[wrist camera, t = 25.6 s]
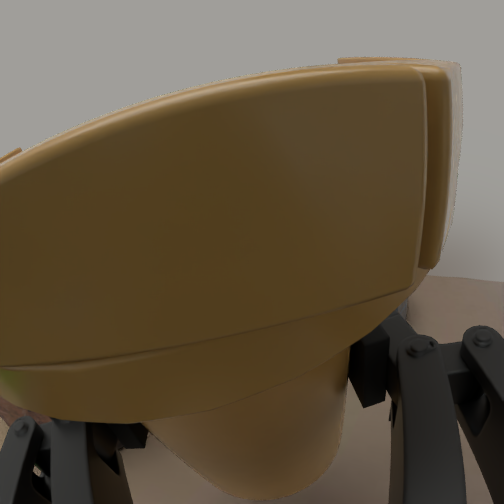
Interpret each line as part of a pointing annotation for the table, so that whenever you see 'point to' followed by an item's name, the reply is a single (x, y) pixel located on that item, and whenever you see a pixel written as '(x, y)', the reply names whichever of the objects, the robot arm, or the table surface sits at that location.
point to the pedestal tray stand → (226, 258)
